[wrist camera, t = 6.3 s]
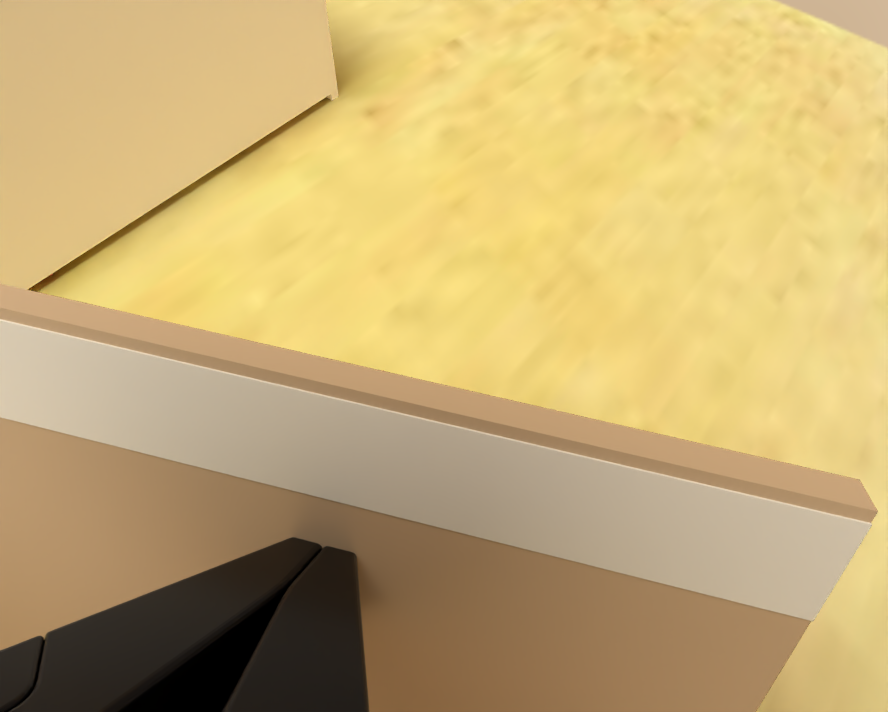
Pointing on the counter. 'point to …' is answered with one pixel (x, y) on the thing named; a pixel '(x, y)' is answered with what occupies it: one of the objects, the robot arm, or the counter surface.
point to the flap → (407, 517)
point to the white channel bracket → (137, 108)
